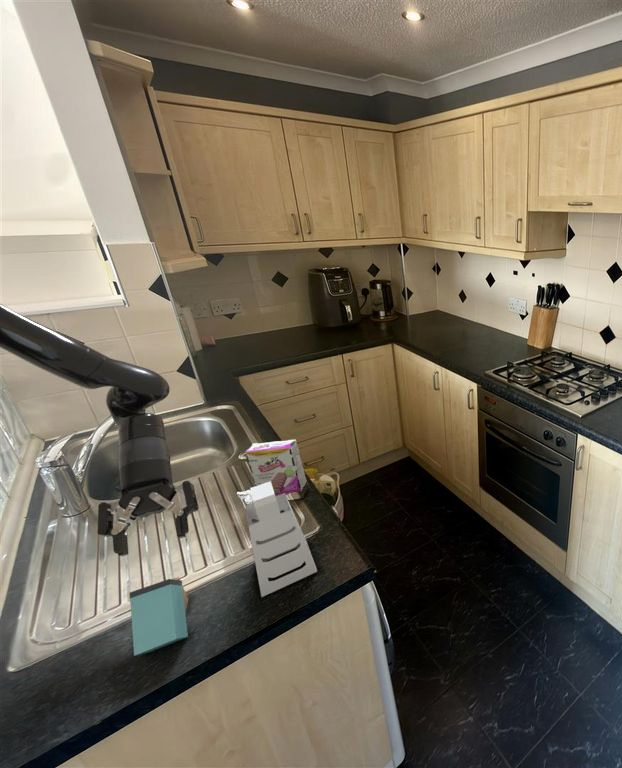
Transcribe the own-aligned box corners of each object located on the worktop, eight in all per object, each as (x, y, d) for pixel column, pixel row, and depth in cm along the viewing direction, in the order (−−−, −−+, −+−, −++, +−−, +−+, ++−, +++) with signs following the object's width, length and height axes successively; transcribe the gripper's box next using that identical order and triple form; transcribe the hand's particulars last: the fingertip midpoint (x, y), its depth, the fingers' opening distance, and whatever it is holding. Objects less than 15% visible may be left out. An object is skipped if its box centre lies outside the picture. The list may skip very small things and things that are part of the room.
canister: (143, 673, 67) (116, 624, 63) (157, 621, 77) (135, 575, 72) (184, 656, 70) (161, 608, 66) (193, 607, 79) (174, 563, 75)
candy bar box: (260, 505, 109) (243, 452, 103) (267, 494, 113) (251, 442, 107) (304, 499, 110) (290, 447, 104) (309, 489, 115) (296, 438, 109)
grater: (307, 543, 94) (287, 470, 87) (317, 571, 86) (296, 493, 79) (255, 565, 89) (229, 488, 82) (261, 597, 81) (232, 515, 74)
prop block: (164, 622, 76) (153, 599, 74) (168, 606, 79) (158, 583, 77) (185, 614, 78) (174, 591, 76) (188, 599, 81) (178, 576, 79)
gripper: (87, 470, 74) (91, 559, 69) (183, 448, 81) (193, 528, 75) (107, 481, 80) (113, 563, 75) (195, 459, 87) (205, 534, 82)
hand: (153, 545), depth 75 cm, fingers open, 8 cm apart
